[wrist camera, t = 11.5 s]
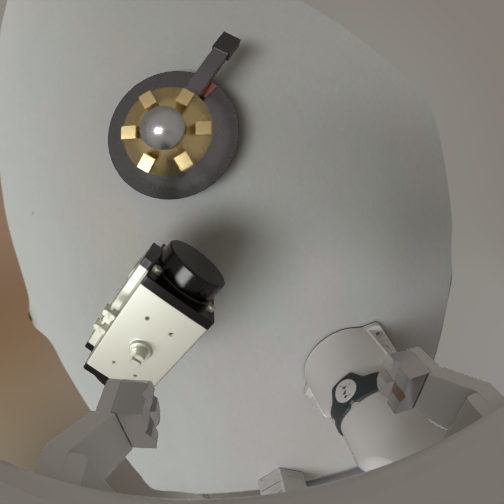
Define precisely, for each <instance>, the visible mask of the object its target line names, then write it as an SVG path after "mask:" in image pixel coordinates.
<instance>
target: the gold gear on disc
mask: <svg viewBox="0 0 504 504" xmlns="http://www.w3.org/2000/svg"><path fill="white" fill-rule="evenodd" d="M194 74H195V73H191V72H184V71H172V72H164V73H160V74H157V75H154V76H151V77H149V78H147V79H145V80H143V81H141V82H140V83H139V84H137V85H136V86H134V87H133V88H132V89H131V90H130V91H129V92H128V93H127V94H126V95H125V96H124V97H123V98H122V100H121V101H120V103H119V104H118V106H117V108H116V110H115V112H114V114H113V116H112V119H111V122H110V127H109V133H108V147H109V153H110V156H111V160H112V162H113V165H114V167H115V169H116V170H117V172H118V173H119V175H120V176H121V178H122V179H123V180H124V181H125V182H126V183H127V184H128V185H129V186H131V187H132V188H133V189H135V190H136V191H138V192H140V193H142V194H144V195H147V196H150V197H153V198H158V199H180V198H185V197H189V196H191V195H194V194H197V193H199V192H201V191H203V190H204V189H206V188H207V187H209V186H210V185H212V184H213V183H214V182H215V181H216V180H217V179H218V178H219V177H220V176H221V175H222V174H223V173H224V171H225V170H226V169H227V167H228V166H229V164H230V162H231V160H232V158H233V156H234V153H235V151H236V147H237V143H238V134H239V130H238V120H237V115H236V112H235V109H234V107H233V105H232V102H231V101H230V99H229V98H228V96H227V95H226V93H225V92H224V91H223V90H222V89H221V88H220V87H219V86H218V85H216V84H215V83H214V82H212V81H211V82H210V84H209V85H208V87H207V88H206V90H205V91H204V93H203V94H202V96H201V97H200V98H201V99H202V101H203V102H204V103H205V104H206V106H207V107H208V109H209V111H210V114H211V117H212V121H213V138H212V142H211V145H210V148H209V150H208V152H207V153H206V155H205V156H204V158H203V159H202V160H201V161H200V162H199V163H198V164H197V165H195V166H194V167H193V168H191V169H189V170H187V171H185V172H182V173H180V174H176V175H171V176H158V175H153V174H150V173H147V172H145V171H143V170H142V169H140V168H138V167H137V166H136V165H135V164H134V163H133V162H132V161H131V159H130V158H129V156H128V154H127V152H126V150H125V147H124V143H123V140H121V127H123V126H124V122H125V120H126V117H127V115H128V113H129V111H130V110H131V108H132V107H133V105H134V104H135V103H136V102H137V101H138V100H139V97H140V96H141V95H143V94H144V93H146V92H148V91H149V90H150V91H154V90H156V89H160V88H166V87H177V88H182V89H183V88H186V86H187V85H188V83H189V82H190V80H191V79H192V77H193V76H194ZM186 131H187V127H186V123H185V120H184V119H183V117H182V116H181V114H180V113H179V112H178V111H177V110H176V109H174V108H172V107H170V106H157V107H155V108H152V109H151V110H149V111H148V112H147V113H146V114H145V115H144V117H143V118H142V120H141V123H140V135H141V138H142V140H143V141H144V143H145V144H146V145H148V146H149V147H151V148H154V149H159V150H171V149H173V148H175V147H177V146H178V145H180V144H181V142H182V141H183V140H184V138H185V135H186Z"/></svg>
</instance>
